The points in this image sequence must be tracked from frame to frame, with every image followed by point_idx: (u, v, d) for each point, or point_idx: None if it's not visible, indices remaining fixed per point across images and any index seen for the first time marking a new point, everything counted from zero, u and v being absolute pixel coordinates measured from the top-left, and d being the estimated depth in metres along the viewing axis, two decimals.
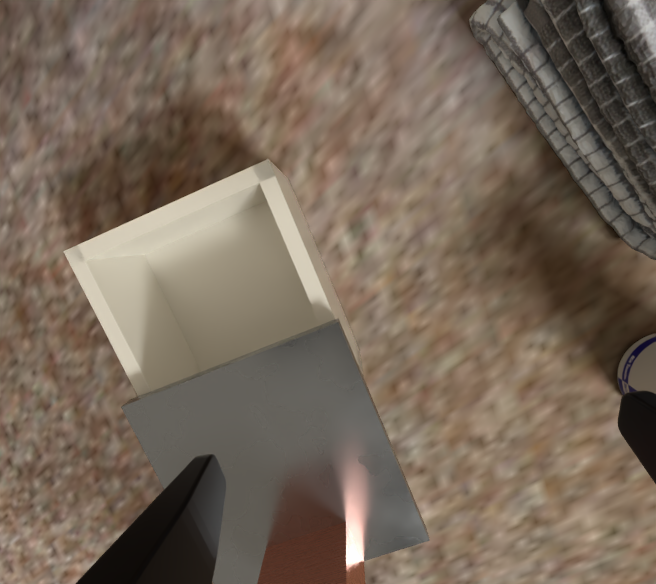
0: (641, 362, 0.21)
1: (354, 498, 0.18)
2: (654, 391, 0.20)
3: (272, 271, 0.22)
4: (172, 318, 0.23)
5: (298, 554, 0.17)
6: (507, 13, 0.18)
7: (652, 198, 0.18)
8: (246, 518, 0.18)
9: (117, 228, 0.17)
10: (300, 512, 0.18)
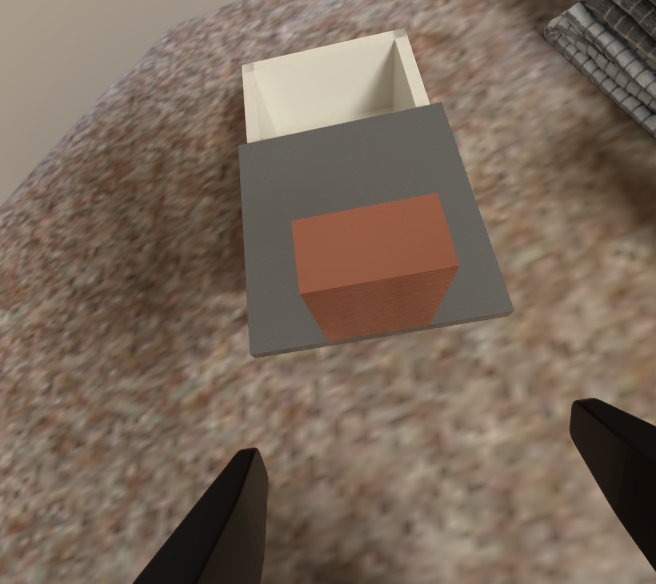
0: None
1: None
2: None
3: None
4: None
5: None
6: (572, 7, 0.26)
7: None
8: None
9: (285, 55, 0.24)
10: None
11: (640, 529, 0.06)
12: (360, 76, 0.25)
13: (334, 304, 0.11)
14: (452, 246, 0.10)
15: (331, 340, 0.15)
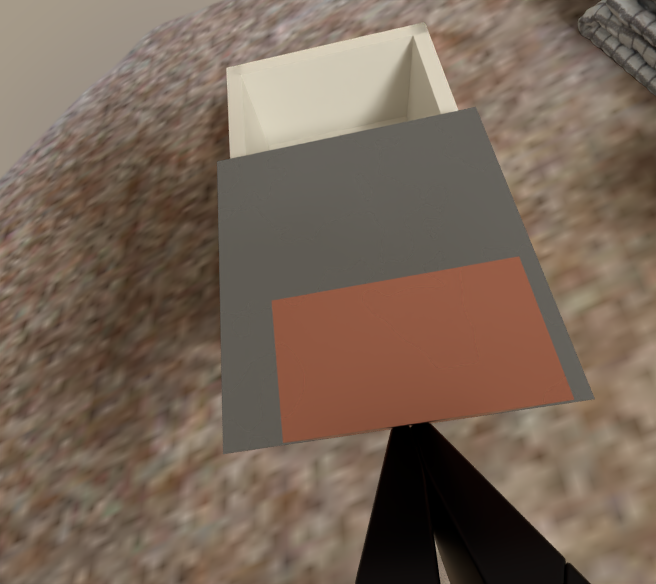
0: None
1: None
2: None
3: None
4: None
5: None
6: None
7: None
8: None
9: (279, 56, 0.20)
10: None
11: (442, 553, 0.06)
12: (370, 81, 0.21)
13: (343, 434, 0.07)
14: (556, 360, 0.05)
15: None
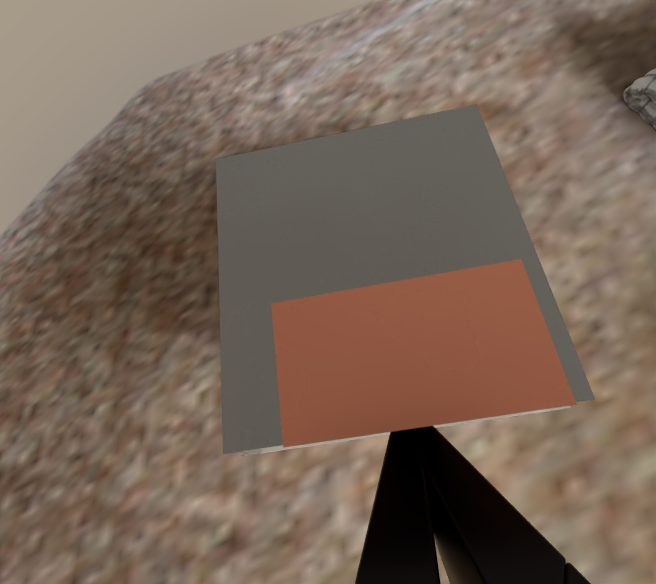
0: None
1: None
2: None
3: None
4: None
5: None
6: None
7: None
8: None
9: None
10: None
11: (442, 553, 0.06)
12: None
13: None
14: (559, 364, 0.05)
15: None
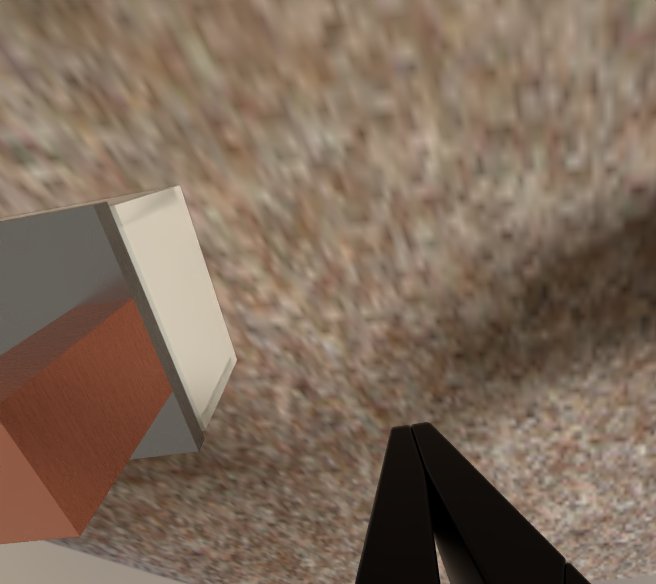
0: None
1: (37, 290, 0.13)
2: None
3: None
4: None
5: None
6: None
7: None
8: None
9: None
10: None
11: (442, 553, 0.06)
12: None
13: (97, 471, 0.11)
14: None
15: (170, 390, 0.15)
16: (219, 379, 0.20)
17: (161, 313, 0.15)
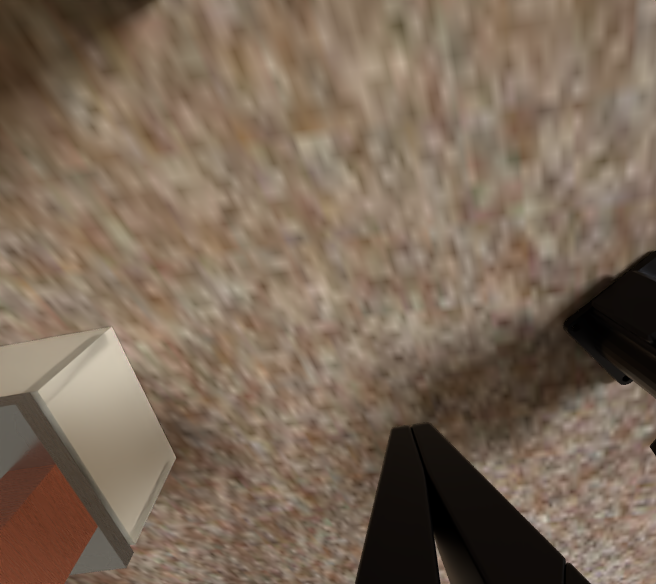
0: None
1: None
2: None
3: None
4: None
5: None
6: None
7: None
8: None
9: None
10: None
11: (442, 553, 0.06)
12: None
13: None
14: None
15: (95, 526, 0.18)
16: (153, 487, 0.23)
17: (87, 460, 0.18)
